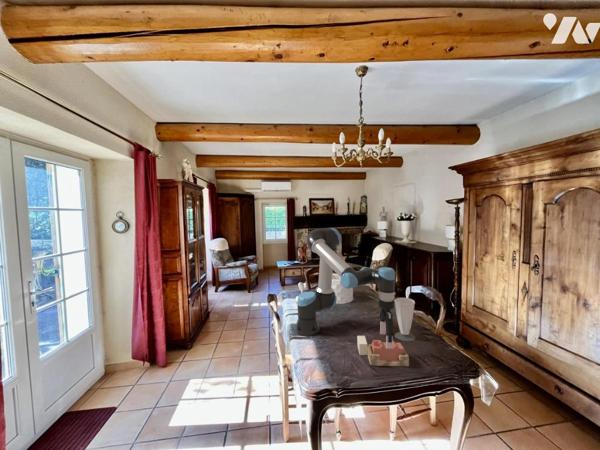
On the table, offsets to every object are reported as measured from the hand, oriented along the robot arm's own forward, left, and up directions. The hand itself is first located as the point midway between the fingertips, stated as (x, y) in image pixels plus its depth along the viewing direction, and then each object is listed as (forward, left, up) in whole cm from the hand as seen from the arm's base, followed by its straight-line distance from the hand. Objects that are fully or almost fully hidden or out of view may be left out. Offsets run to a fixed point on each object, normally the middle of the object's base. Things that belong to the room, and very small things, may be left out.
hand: (386, 340), depth 131 cm
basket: (-19, +92, -10) cm, 94 cm away
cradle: (0, 0, -10) cm, 10 cm away
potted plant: (-47, +66, -10) cm, 81 cm away
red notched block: (0, 0, -8) cm, 8 cm away
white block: (-11, +8, -10) cm, 17 cm away
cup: (+16, +25, -10) cm, 31 cm away
